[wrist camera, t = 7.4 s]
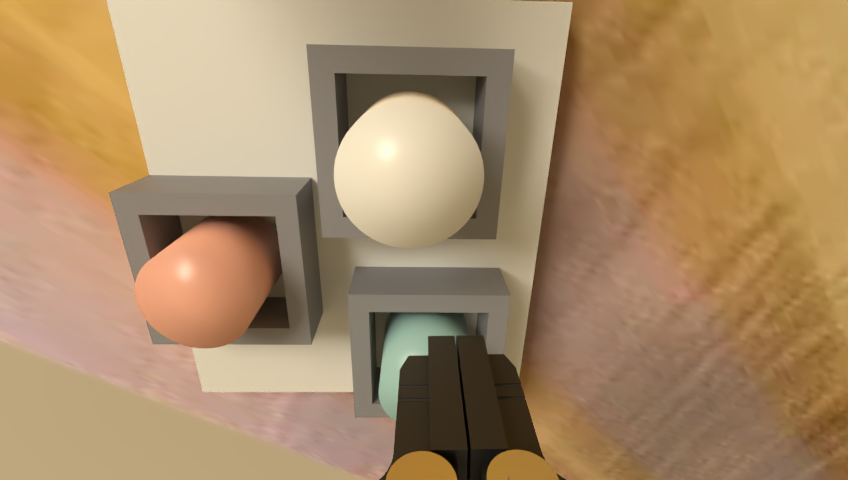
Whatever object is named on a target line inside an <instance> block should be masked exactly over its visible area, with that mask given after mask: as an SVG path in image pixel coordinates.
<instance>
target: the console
mask: <svg viewBox="0 0 848 480" xmlns="http://www.w3.org/2000/svg"><path fill="white" fill-rule="evenodd" d="M107 4H108V8H109V12H110V17H111V21H112V25H113V29H114V33H115V37H116V41H117V45H118V49H119V53H120V57H121V61H122V65H123V69H124V73H125V77H126V81H127V86H128V90H129V94H130V98H131V102H132V106H133V110H134V114H135V118H136V122H137V126H138V130H139V134H140V138H141V142H142V146H143V150H144V155H145V159H146V163H147V167H148V171H149V176H146V177H144V178H142V179H139V180H137V181H135V182H132V183H130V184H128V185H125V186H123V187H121V188H118V189H116V190H114V191H111V192H109V195H110V198H111V202H112V205H113V209H114V212H115V216H116V219H117V222H118V226H119V229H120V233H121V236H122V240H123V243H124V247H125V250H126V253H127V257H128V260H129V264H130V267H131V271H132V274H133V277H134V281H135V282H136V278H137V275H138V273H139V271H140V270H141V268H142V267H143V266H144V265H145V264H146V263H147V262H148V261H149V260H150V259H152V258H153V257H154V256H156V255H157V254H158V253H160V252H161V251H162V250H164V249H165V248H166V247H168V246H169V245H170V244H172V243H173V242H174V241H176V240H177V239H178V238H180V237H181V236H182V235H184V234H185V233H186V232H188V231H189V230H190V229H192V228H193V227H194V226H195V225H197V224H198V223H199V222H201V221H202V220H203V219H205V218H206V217H208V216H260V217H262V218H263V219H265V220H266V221H268V222H269V223H270V224H271V225H272V226H273V227H274V228H275V229H276V230H277V233H278V241H279V249H280V256H281V264H282V274H281V275H280V277H279V279H278V280H277V282H276V283H275V285H274V287H273V288H272V290H271V291H270V293H269V295H268V296H267V298H266V299H265V301H264V303H263V304H262V306H261V307H260V309H259V311H258V312H257V314H256V315H255V317H254V319H253V320H252V322H251V323H250V325H249V327H248V328H247V330H246V331H245V332H244V334H243V335H242V336H241V337H239V338H238V339H237V340H235V341H234V342H232V343H230V344H227V345H225V346H221V347H217V348H206V349H204V348H194V347H192V349H193V353H194V358H195V362H196V366H197V370H198V374H199V378H200V382H201V386H202V390H203V392H353V394H354V411H355V417H389V416H388V415H387V414H386V412H385V411H384V409H383V408H382V406H381V404H380V400H379V382H380V373H381V364H382V354H383V345H384V336H385V326H386V322H387V319H388V317H389V315H390V313H391V312H440V313H463V315H464V317H465V319H466V323H467V328H468V333H469V335H483V336H484V339H485V344H486V348H487V353H488V354H504V355H505V356H506V357H507V358H508V359H509V360H510V361H511V362H512V364H513V365H514V366H515V367H516V369H517V373H518V376H519V375H520V368H521V361H522V354H523V347H524V340H525V333H526V326H527V319H528V312H529V305H530V298H531V291H532V284H533V277H534V270H535V263H536V256H537V249H538V243H539V236H540V229H541V222H542V215H543V208H544V201H545V194H546V187H547V180H548V173H549V166H550V159H551V152H552V145H553V138H554V131H555V124H556V117H557V110H558V103H559V96H560V89H561V82H562V75H563V68H564V61H565V54H566V47H567V40H568V33H569V26H570V19H571V12H572V5H573V2H549V1H513V0H107ZM407 90H413V91H421V92H425V93H428V94H431V95H433V96H435V97H437V98H439V99H440V100H442V101H443V102H445V103H446V104H447V105H448V106H449V107H450V108H451V109H452V110H453V111H454V113H455V114H456V115H457V116H458V118H459V119H460V120H461V122H462V123H463V124H464V125H465V127H466V128H467V129H468V131H469V132H470V133H471V134H472V136H473V138H474V139H475V141H476V143H477V145H478V148H479V150H480V152H481V156H482V160H483V166H484V185H483V191H482V195H481V198H480V201H479V203H478V206H477V208H476V210H475V211H474V213H473V215H472V216H471V218H470V219H469V220H468V221H467V223H466V224H465V225H464V226H463V227H462V228H461V229H460V230H459V231H457V232H456V233H455V234H453V235H452V236H450V237H449V238H447V239H445V240H443V241H441V242H439V243H437V244H434V245H430V246H427V247H421V248H398V247H393V246H389V245H386V244H383V243H380V242H378V241H376V240H374V239H372V238H370V237H369V236H367V235H365V234H364V233H363V232H362V231H360V230H359V229H358V228H357V227H356V226H355V225H354V224H353V223H352V222H351V221H350V219H349V218H348V217H347V215H346V214H345V212H344V210H343V209H342V207H341V205H340V202H339V200H338V197H337V194H336V190H335V184H334V164H335V158H336V155H337V151H338V149H339V146H340V144H341V142H342V140H343V138H344V137H345V135H346V133H347V132H348V131H349V129H350V128H351V127H352V126H353V125H354V124H355V122H356V121H357V120H358V119H359V118H360V117H361V116H362V115H363V114H364V113H365V112H366V111H367V110H368V109H369V108H370V107H371V106H372V105H373V104H374V103H375V102H377V101H378V100H380V99H381V98H383V97H385V96H387V95H389V94H392V93H395V92H399V91H407ZM146 322H147V321H146ZM147 326H148V329H149V332H150V336H151V339H152V343H153V344H179V343H176V342H174V341H172V340H170V339H168V338H166V337H165V336H163V335H162V334H160V333H159V332H158V331H156V330H155V329H154V328H153V327H152V326H151V325H150V324H149V323H148V322H147Z"/></svg>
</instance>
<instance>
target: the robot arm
mask: <svg viewBox="0 0 848 480" xmlns="http://www.w3.org/2000/svg"><path fill="white" fill-rule="evenodd" d="M380 480H565V479H564V478H562V477H561V476H560V475H558V474H557V473H556V472H555V471H554V469H553V468H552V467H551V466H550V464H549V463H548V462H546V460H545V458H544V457H543V454H542V452H541V449H540V446H539V442H538V439H537V436H536V432H535V429H534V426H533V422H532V419H531V416H530V413H529V409H528V406H527V403H526V400H525V396H524V393H523V389H522V386H521V383H520V379H519V376H518V373H517V369H516V367H515V366H514V365H513V364H512V362H511V361H510V360H509V359H508V358H507V357H506V356H505V355H504V354H488V353H487V348H486V344H485V339H484V336H483V335H456V344H455V336H428V355H419V356H408V357H407V359H406V361H405V362H404V364H403V365H402V367H401V368H400V374H399V388H398V402H397V415H396V429H395V443H394V455H393V460H392V463H391V465H390V467H389V469H388V471H387V472H386V473H385V475H384V476H383V477H382V478H381V479H380Z"/></svg>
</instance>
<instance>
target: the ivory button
mask: <svg viewBox="0 0 848 480" xmlns="http://www.w3.org/2000/svg"><path fill="white" fill-rule="evenodd" d="M334 184H335V190H336V194H337V197H338V200H339V202H340V205H341V207H342V209H343V210H344V212H345V214H346V215H347V217H348V218H349V219H350V221H351V222H352V223H353V224H354V225H355V226H356V227H357V228H358V229H359V230H360V231H362V232H363V233H364V234H365V235H367V236H369V237H370V238H372V239H374V240H376V241H378V242H380V243H383V244H386V245H389V246H393V247H398V248H421V247H427V246H430V245H434V244H437V243H439V242H441V241H443V240H445V239H447V238H449V237H450V236H452V235H453V234H455V233H456V232H457V231H459V230H460V229H461V228H462V227H463V226H464V225H465V224H466V223H467V221H468V220H469V219H470V218H471V216H472V215H473V213H474V211H475V210H476V208H477V206H478V203H479V201H480V198H481V195H482V191H483V185H484V166H483V160H482V156H481V152H480V150H479V148H478V145H477V143H476V141H475V139H474V138H473V136H472V134H471V133H470V132H469V131H468V129H467V128H466V127H465V125H464V124H463V123H462V122H461V120H460V119H459V118H458V116H457V115H456V114H455V113H454V111H453V110H452V109H451V108H450V107H449V106H448V105H447V104H446V103H445V102H443V101H442V100H440V99H439V98H437V97H435V96H433V95H431V94H428V93H425V92H421V91H413V90H407V91H399V92H395V93H392V94H389V95H387V96H385V97H383V98H381V99H380V100H378V101H377V102H375V103H374V104H373V105H372V106H371V107H370V108H369V109H368V110H367V111H366V112H365V113H364V114H363V115H362V116H361V117H360V118H359V119H358V120H357V121H356V122H355V124H354V125H353V126H352V127H351V128H350V129H349V131H348V132H347V133H346V135H345V137H344V138H343V140H342V142H341V144H340V146H339V149H338V151H337V155H336V158H335V164H334Z"/></svg>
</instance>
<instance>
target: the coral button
mask: <svg viewBox="0 0 848 480" xmlns="http://www.w3.org/2000/svg"><path fill="white" fill-rule="evenodd" d="M281 274H282V264H281V256H280V249H279V241H278V233H277V230H276V229H275V228H274V227H273V226H272V225H271V224H270V223H269V222H268V221H266V220H265V219H263V218H262V217H260V216H208V217H206V218H205V219H203V220H202V221H201V222H199V223H198V224H197V225H195V226H194V227H193V228H192V229H190V230H189V231H188V232H186V233H185V234H184V235H182V236H181V237H180V238H178V239H177V240H176V241H174V242H173V243H172V244H170V245H169V246H168V247H166V248H165V249H164V250H162V251H161V252H160V253H158V254H157V255H156V256H154V257H153V258H152V259H150V260H149V261H148V262H147V263H146V264H145V265H144V266H143V267H142V268H141V270H140V271H139V273H138V275H137V278H136V282H135V298H136V302H137V305H138V307H139V309H140V311H141V313H142V315H143V316H144V318H145V319H146V321H147V322H148V323H149V324H150V325H151V326H152V327H153V328H154V329H155V330H156V331H158V332H159V333H160V334H162V335H163V336H165V337H166V338H168V339H170V340H172V341H174V342H176V343H179V344H182V345H185V346H189V347H194V348H204V349H206V348H217V347H221V346H225V345H227V344H230V343H232V342H234V341H235V340H237V339H238V338H239V337H241V336H242V335H243V334H244V332H245V331H246V330H247V328H248V327H249V325H250V323H251V322H252V320H253V319H254V317H255V315H256V314H257V312H258V311H259V309H260V307H261V306H262V304H263V303H264V301H265V299H266V298H267V296H268V295H269V293H270V291H271V290H272V288H273V287H274V285H275V283H276V282H277V280H278V279H279V277H280V275H281Z"/></svg>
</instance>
